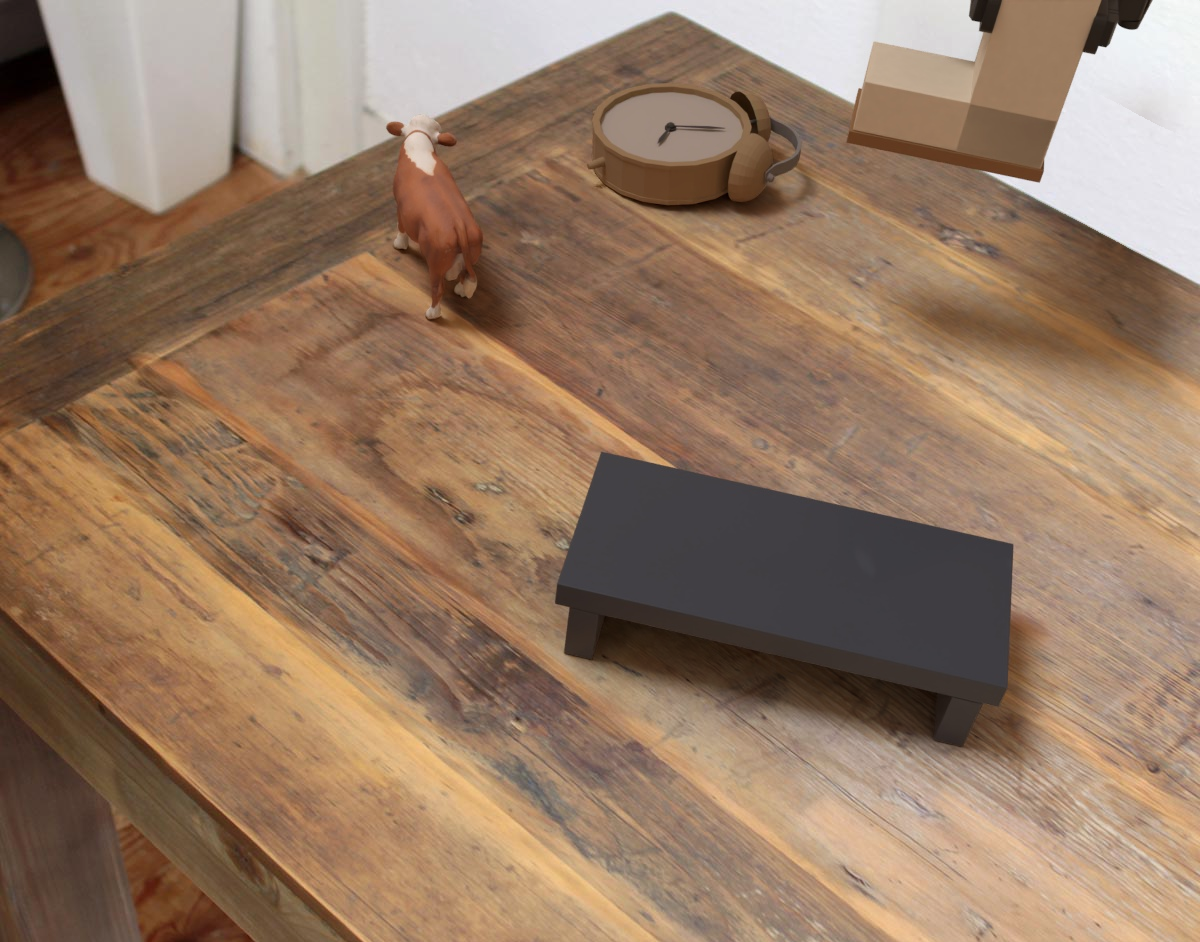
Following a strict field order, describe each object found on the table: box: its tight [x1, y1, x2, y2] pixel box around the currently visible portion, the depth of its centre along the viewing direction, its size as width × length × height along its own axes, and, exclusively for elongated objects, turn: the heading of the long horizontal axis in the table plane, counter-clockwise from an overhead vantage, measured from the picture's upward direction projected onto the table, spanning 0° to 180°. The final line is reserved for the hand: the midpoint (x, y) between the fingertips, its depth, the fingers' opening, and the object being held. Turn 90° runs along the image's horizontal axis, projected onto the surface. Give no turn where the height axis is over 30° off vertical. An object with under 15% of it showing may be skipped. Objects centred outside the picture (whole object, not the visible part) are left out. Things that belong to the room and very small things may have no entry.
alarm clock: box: [586, 82, 803, 206], centre depth 106 cm, size 11×5×15 cm
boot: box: [846, 0, 1101, 184], centre depth 84 cm, size 11×5×11 cm, turn 77°
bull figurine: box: [385, 114, 484, 320], centre depth 93 cm, size 4×13×8 cm, turn 16°
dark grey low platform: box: [554, 451, 1014, 748], centre depth 76 cm, size 22×10×5 cm, turn 77°
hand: (1043, 26), depth 79 cm, fingers closed on boot, 5 cm apart
